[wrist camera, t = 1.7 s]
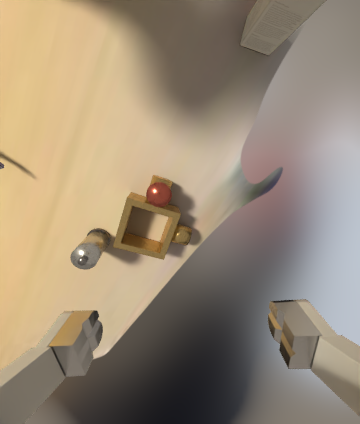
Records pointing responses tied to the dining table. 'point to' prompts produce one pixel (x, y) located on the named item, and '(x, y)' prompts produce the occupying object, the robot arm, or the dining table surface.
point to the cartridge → (90, 249)
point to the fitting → (157, 203)
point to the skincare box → (275, 22)
